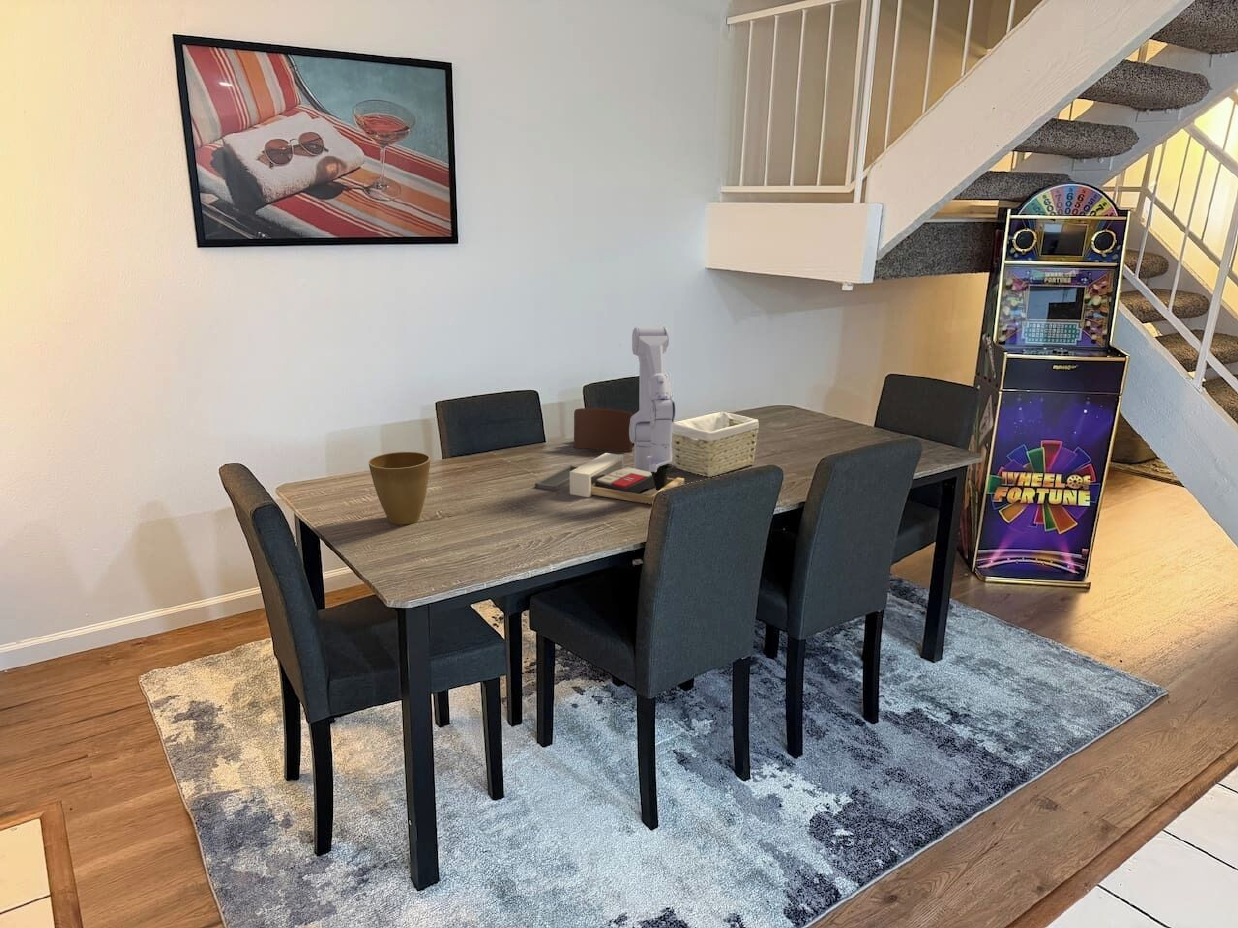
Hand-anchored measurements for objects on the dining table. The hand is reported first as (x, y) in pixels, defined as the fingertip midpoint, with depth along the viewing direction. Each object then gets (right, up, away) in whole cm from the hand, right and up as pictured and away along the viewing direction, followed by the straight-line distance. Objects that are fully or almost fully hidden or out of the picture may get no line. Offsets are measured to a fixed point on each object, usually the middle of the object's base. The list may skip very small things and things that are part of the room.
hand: (660, 490), depth 243 cm
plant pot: (-66, -7, -21) cm, 70 cm away
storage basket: (+18, +6, +28) cm, 34 cm away
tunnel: (-23, +2, +11) cm, 25 cm away
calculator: (-9, 0, +5) cm, 11 cm away
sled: (-6, 0, +3) cm, 7 cm away
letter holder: (-16, +13, +50) cm, 54 cm away
